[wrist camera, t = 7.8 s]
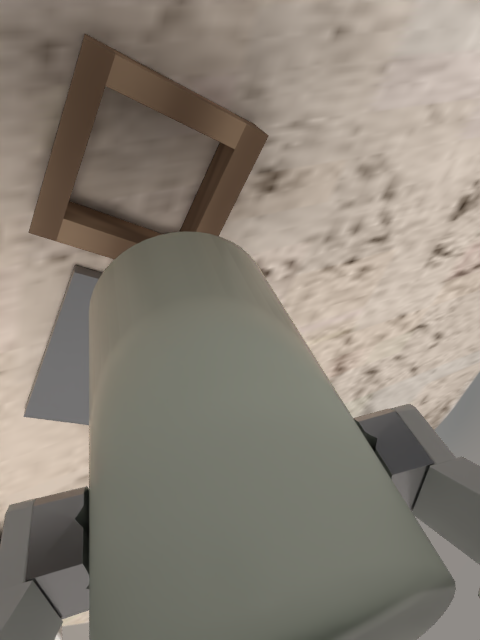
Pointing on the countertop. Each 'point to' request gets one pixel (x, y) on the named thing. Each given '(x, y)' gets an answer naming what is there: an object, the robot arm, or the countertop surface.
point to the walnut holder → (165, 97)
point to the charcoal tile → (66, 357)
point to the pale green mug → (234, 469)
